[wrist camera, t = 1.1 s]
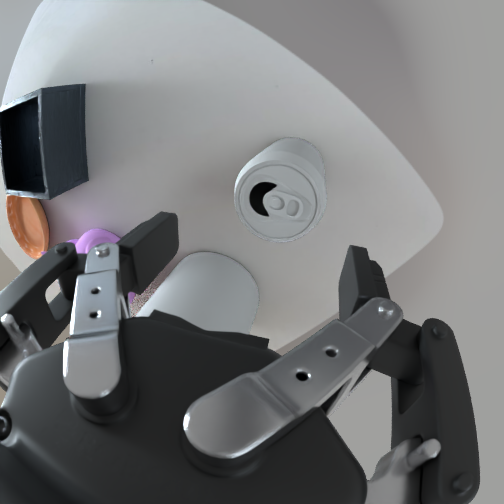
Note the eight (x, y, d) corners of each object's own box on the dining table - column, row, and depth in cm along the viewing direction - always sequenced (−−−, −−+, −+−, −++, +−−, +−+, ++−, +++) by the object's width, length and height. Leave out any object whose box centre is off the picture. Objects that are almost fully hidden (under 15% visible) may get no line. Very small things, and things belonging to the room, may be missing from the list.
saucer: (18, 233, 46) (9, 239, 43) (14, 171, 37) (3, 176, 35) (57, 265, 46) (48, 273, 44) (54, 198, 38) (42, 205, 35)
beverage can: (270, 129, 26) (238, 142, 16) (331, 147, 25) (340, 172, 15) (257, 185, 29) (220, 232, 19) (314, 202, 29) (309, 259, 19)
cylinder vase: (268, 263, 34) (192, 468, 13) (252, 331, 40) (196, 489, 19) (176, 239, 35) (45, 388, 14) (176, 307, 42) (92, 440, 21)
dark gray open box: (33, 100, 29) (-3, 108, 22) (85, 83, 27) (41, 88, 20) (39, 178, 36) (6, 194, 30) (88, 180, 34) (49, 199, 27)
